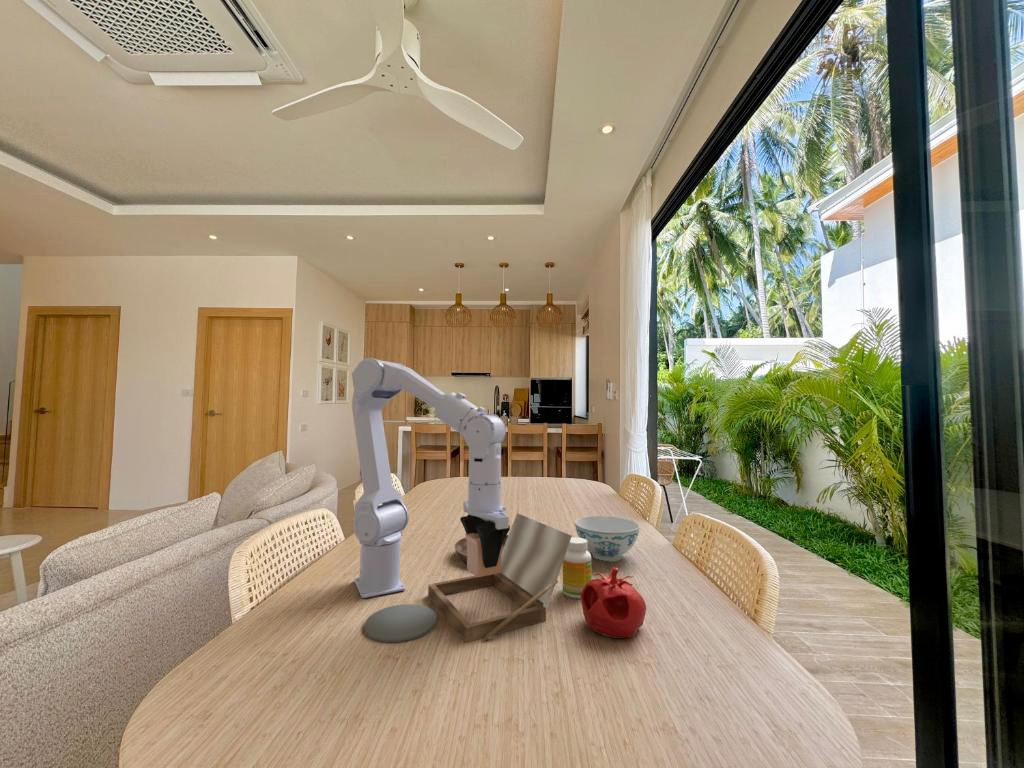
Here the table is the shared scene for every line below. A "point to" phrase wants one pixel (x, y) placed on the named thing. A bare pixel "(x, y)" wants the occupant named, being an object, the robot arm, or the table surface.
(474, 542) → the orange block with dome
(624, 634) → the hollow red tomato
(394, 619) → the mat
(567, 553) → the supplement bottle
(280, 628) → the table surface
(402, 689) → the table surface
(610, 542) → the chinaware
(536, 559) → the cold frame
